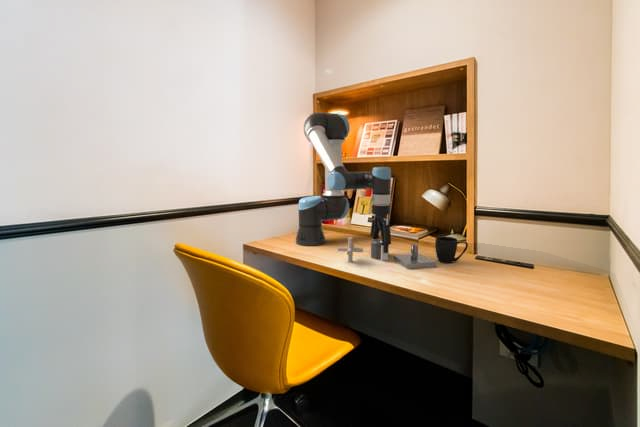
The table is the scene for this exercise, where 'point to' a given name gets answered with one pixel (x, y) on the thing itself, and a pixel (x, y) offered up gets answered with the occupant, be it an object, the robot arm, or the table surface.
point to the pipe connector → (350, 249)
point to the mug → (447, 249)
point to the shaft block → (414, 259)
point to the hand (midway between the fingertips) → (379, 256)
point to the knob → (376, 249)
